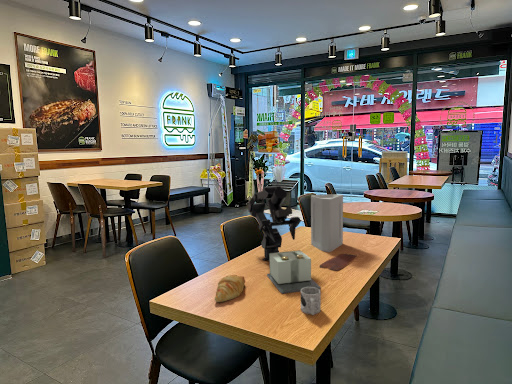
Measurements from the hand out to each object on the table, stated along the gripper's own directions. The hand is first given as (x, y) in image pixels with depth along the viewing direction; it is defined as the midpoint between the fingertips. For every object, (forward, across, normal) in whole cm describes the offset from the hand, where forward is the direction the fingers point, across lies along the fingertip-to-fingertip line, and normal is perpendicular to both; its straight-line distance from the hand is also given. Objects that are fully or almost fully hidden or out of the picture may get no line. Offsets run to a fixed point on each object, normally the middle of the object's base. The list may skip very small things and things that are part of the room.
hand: (284, 240), depth 151 cm
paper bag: (-6, +36, +30) cm, 47 cm away
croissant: (+20, -29, -2) cm, 35 cm away
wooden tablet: (+11, +29, +10) cm, 33 cm away
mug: (+36, -8, -22) cm, 42 cm away
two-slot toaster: (+17, -2, +1) cm, 17 cm away
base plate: (+19, -2, -2) cm, 19 cm away
